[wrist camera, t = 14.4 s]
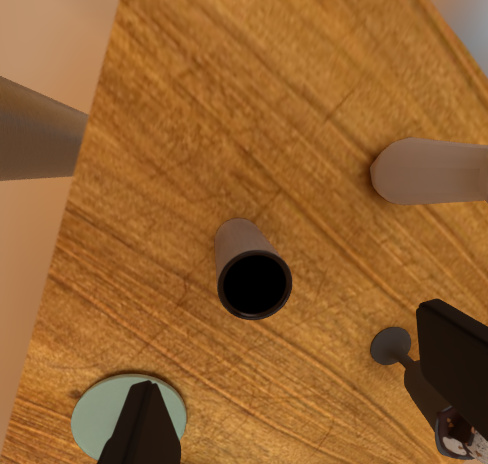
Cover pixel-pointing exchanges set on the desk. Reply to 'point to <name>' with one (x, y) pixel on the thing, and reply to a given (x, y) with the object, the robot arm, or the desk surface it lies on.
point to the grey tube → (249, 271)
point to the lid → (116, 410)
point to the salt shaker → (431, 172)
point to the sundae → (430, 399)
